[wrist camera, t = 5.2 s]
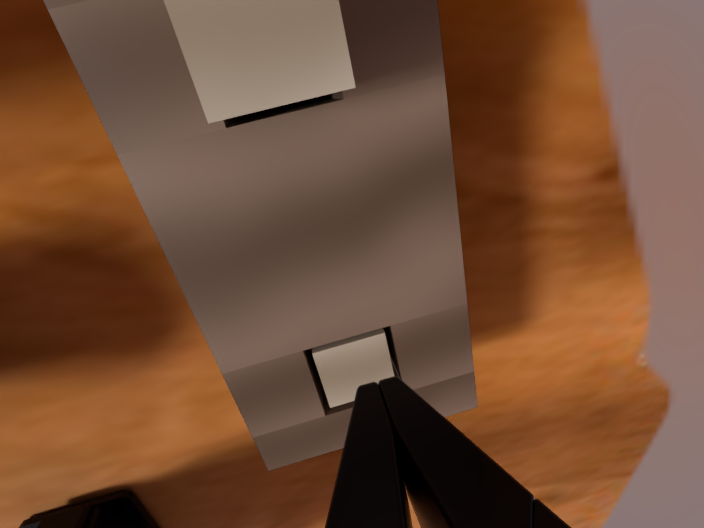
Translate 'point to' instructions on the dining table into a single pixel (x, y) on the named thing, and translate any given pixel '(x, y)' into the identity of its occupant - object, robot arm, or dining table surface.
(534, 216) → the dining table surface
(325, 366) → the peg
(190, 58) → the peg
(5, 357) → the dining table surface
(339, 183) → the grey peg board
